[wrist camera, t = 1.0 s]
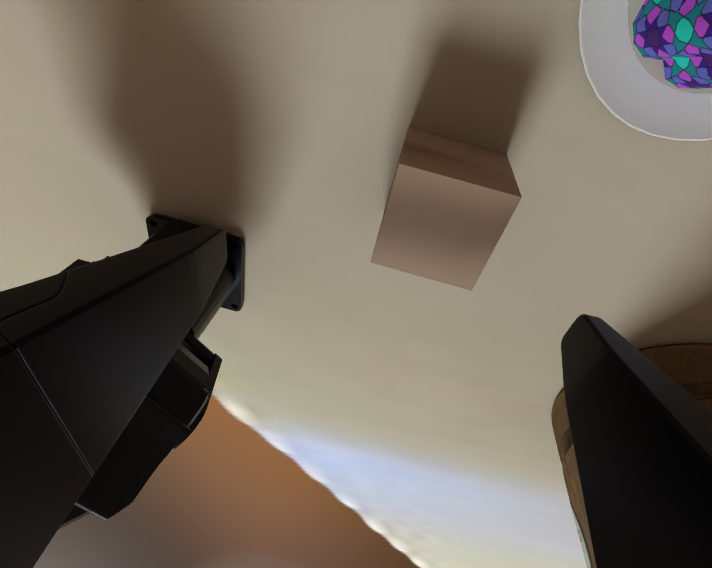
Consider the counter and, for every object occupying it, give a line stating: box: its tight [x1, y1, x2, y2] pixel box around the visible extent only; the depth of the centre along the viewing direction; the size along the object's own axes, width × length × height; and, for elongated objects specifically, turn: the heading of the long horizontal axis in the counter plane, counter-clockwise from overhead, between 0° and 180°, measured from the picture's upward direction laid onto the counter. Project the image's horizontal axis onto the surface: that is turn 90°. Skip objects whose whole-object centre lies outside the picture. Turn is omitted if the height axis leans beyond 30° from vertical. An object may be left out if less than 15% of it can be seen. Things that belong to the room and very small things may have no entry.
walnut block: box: [371, 128, 522, 291], centre depth 19 cm, size 5×5×5 cm
